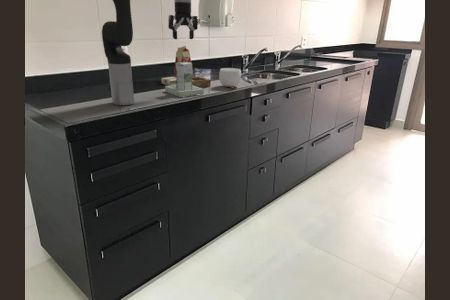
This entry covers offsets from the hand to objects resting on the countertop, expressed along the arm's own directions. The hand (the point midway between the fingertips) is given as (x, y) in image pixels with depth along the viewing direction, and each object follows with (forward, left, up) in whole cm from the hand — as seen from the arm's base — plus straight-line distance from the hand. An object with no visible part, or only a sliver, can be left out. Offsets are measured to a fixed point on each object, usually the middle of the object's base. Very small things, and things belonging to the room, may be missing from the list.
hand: (183, 39), depth 150 cm
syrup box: (0, 0, -26) cm, 26 cm away
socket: (+12, -15, -26) cm, 32 cm away
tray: (0, 0, -26) cm, 26 cm away
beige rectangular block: (+24, -6, -26) cm, 36 cm away
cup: (+1, -30, -26) cm, 40 cm away
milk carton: (+34, -19, -26) cm, 47 cm away
